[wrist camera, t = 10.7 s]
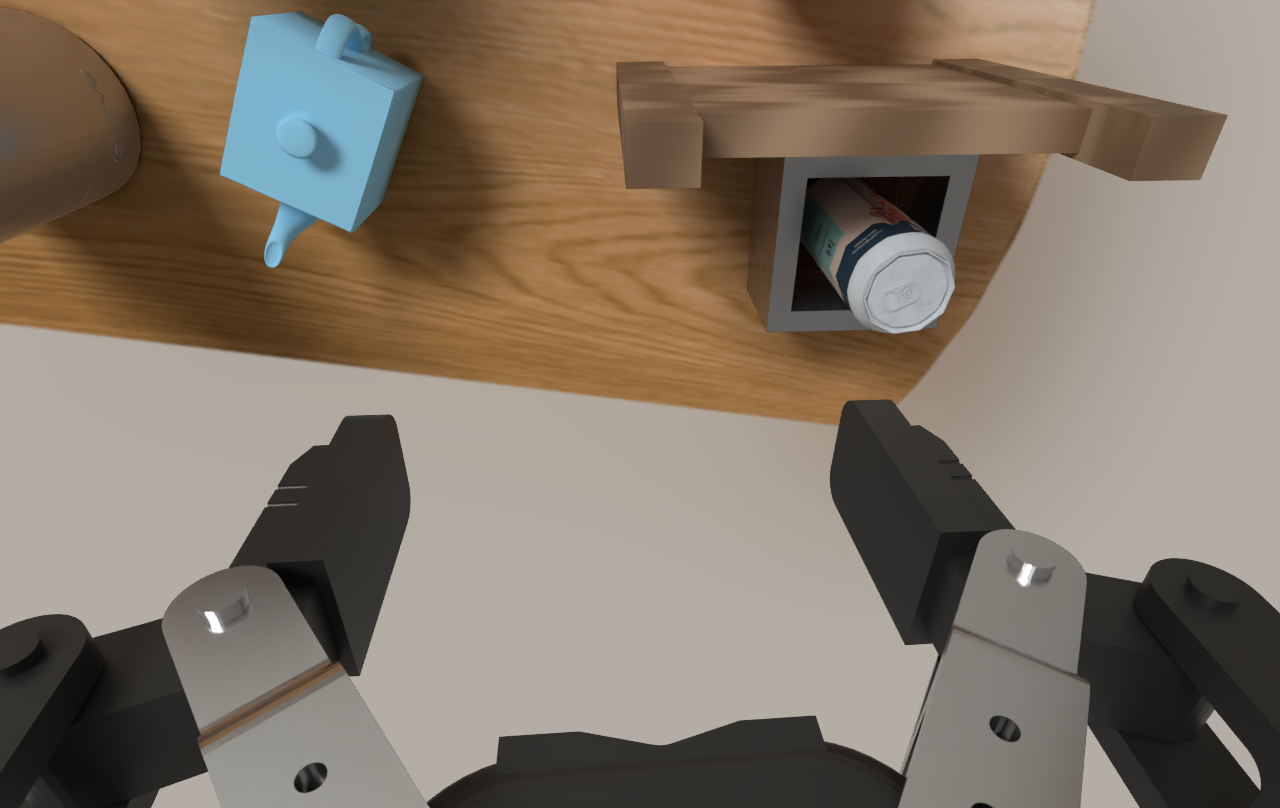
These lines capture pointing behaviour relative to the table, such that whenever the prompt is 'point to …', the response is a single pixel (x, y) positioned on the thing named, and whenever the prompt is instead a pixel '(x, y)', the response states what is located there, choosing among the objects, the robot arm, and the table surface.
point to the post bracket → (775, 286)
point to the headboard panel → (896, 118)
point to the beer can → (876, 256)
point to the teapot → (316, 122)
